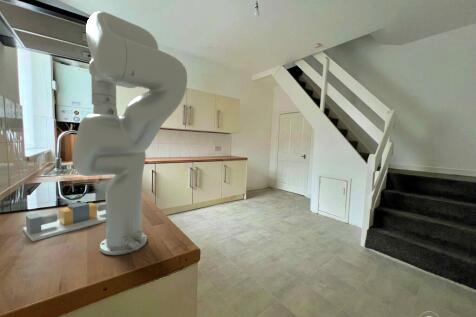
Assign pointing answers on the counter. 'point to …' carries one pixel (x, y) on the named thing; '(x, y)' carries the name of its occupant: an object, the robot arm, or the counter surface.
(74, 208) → the block
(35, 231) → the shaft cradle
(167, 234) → the counter surface
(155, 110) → the robot arm
